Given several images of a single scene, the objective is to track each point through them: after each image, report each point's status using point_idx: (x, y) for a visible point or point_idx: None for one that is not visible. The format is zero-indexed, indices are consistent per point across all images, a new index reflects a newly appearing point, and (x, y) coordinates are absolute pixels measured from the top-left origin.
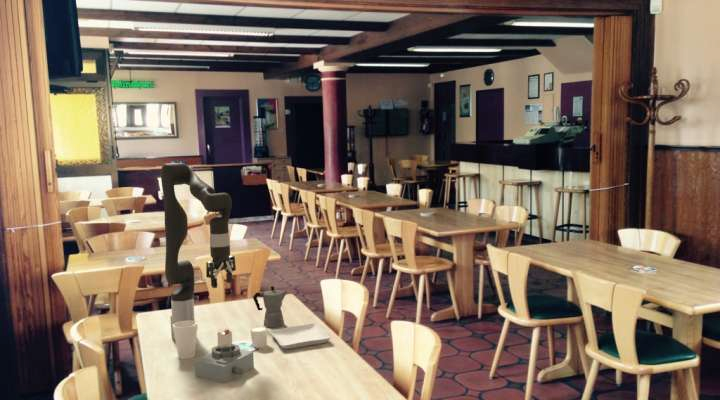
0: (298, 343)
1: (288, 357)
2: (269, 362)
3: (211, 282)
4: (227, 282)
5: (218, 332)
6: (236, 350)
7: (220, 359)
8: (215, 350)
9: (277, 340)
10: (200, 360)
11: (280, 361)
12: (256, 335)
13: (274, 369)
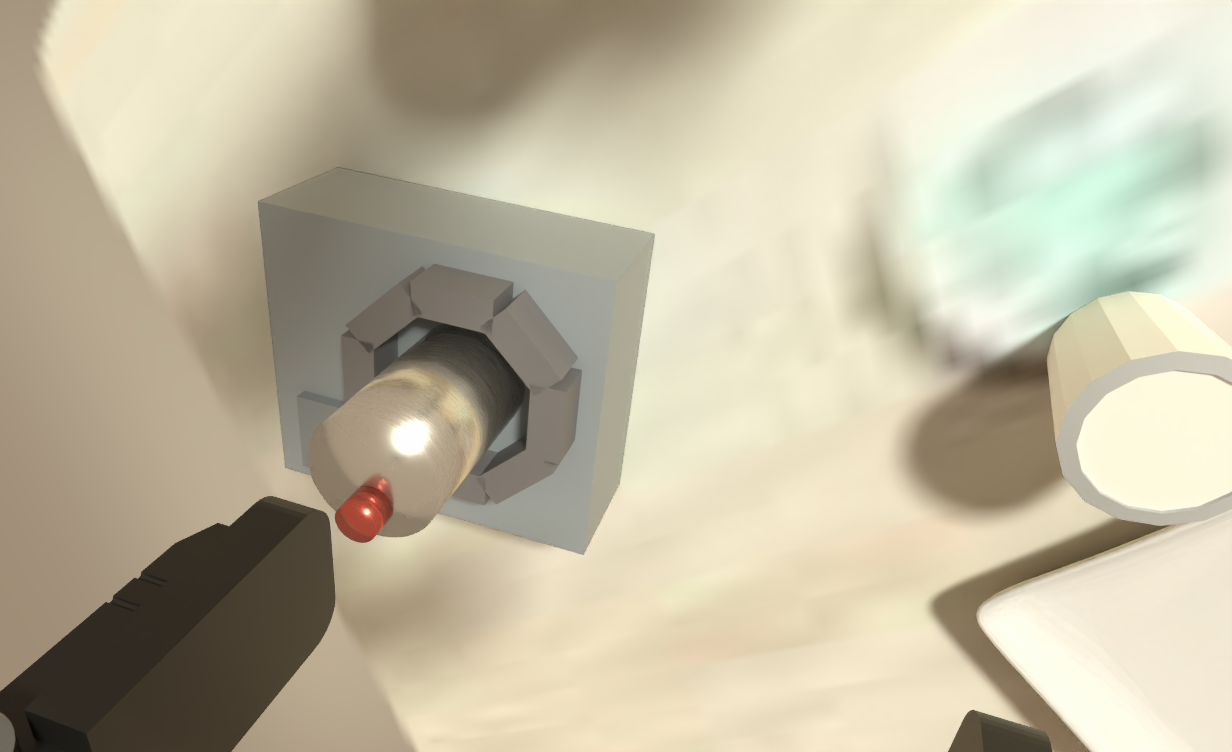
0: (1057, 711)
1: (859, 638)
2: (733, 549)
3: (105, 618)
4: (966, 719)
5: (353, 417)
6: (453, 495)
7: (332, 411)
8: (379, 339)
9: (1107, 557)
10: (276, 253)
11: (771, 608)
12: (1055, 425)
13: (632, 605)
